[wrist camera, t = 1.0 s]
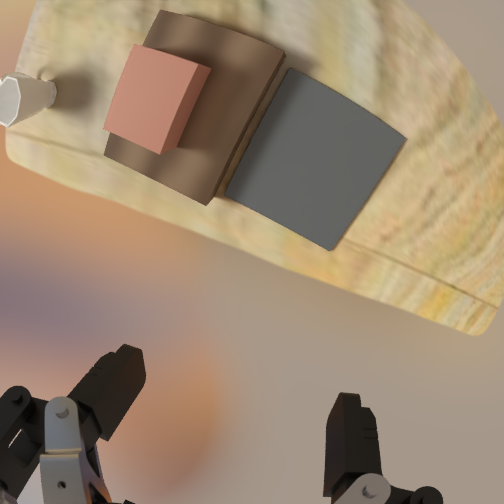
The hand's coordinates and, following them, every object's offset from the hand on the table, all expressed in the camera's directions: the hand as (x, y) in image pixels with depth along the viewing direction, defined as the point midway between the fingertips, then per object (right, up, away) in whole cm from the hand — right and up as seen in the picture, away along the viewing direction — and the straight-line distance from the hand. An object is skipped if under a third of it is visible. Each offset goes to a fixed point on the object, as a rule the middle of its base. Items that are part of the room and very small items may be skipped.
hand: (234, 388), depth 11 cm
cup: (-29, +29, +19) cm, 45 cm away
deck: (-6, +22, +18) cm, 29 cm away
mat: (+7, +15, +20) cm, 26 cm away
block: (-8, +21, +15) cm, 27 cm away
